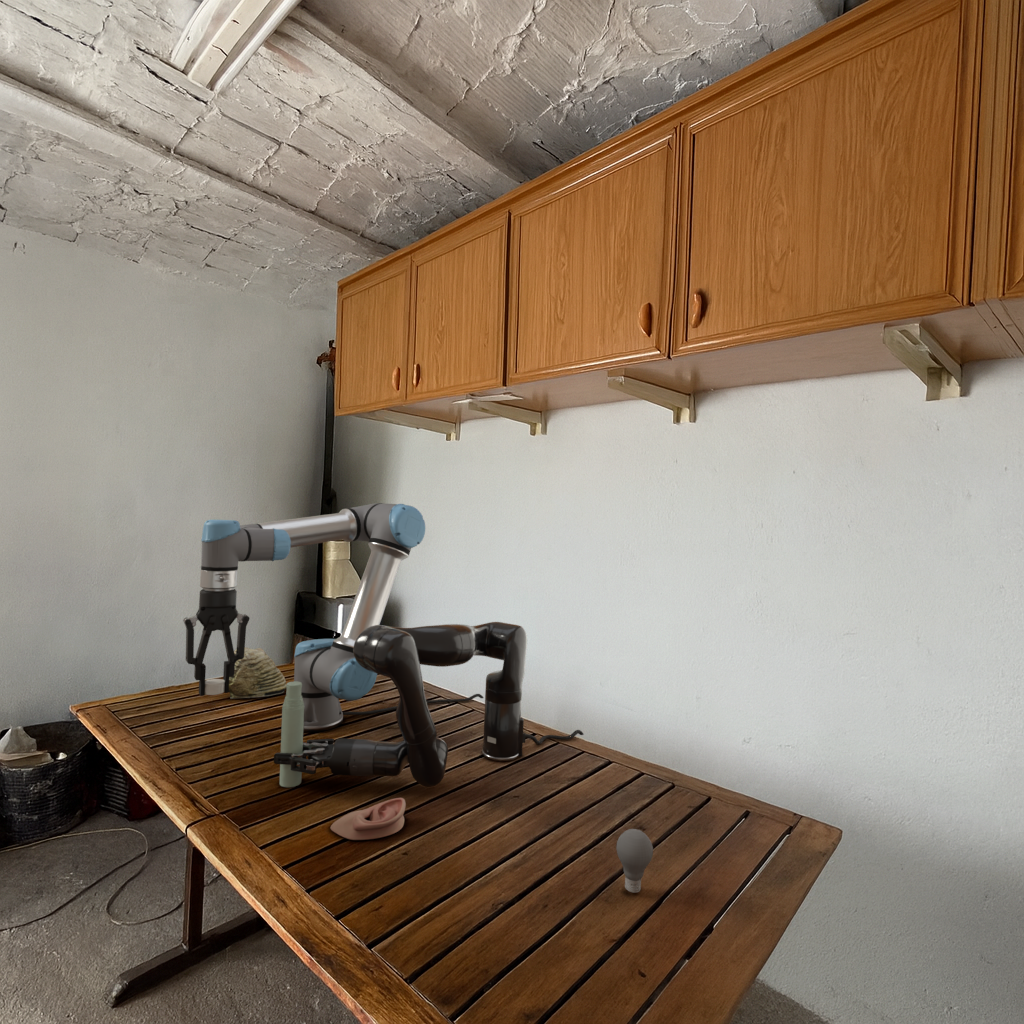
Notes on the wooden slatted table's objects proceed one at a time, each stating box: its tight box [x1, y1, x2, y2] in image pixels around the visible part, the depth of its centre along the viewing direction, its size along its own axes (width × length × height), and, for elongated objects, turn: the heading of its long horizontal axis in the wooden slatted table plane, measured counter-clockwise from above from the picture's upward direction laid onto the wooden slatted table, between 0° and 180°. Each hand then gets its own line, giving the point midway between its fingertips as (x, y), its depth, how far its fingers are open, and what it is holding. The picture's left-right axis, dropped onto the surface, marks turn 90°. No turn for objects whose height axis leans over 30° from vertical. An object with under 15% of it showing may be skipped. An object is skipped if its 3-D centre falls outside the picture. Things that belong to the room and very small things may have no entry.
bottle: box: [278, 680, 304, 788], centre depth 139 cm, size 5×5×22 cm
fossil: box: [229, 646, 287, 699], centre depth 198 cm, size 9×18×15 cm, turn 132°
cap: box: [204, 678, 225, 696], centre depth 142 cm, size 4×4×2 cm
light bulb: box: [615, 828, 654, 894], centre depth 106 cm, size 6×6×10 cm
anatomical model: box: [330, 797, 407, 841], centre depth 123 cm, size 13×4×12 cm
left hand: (213, 692), depth 142 cm, fingers closed on cap, 4 cm apart
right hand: (279, 753), depth 140 cm, fingers closed on bottle, 4 cm apart
